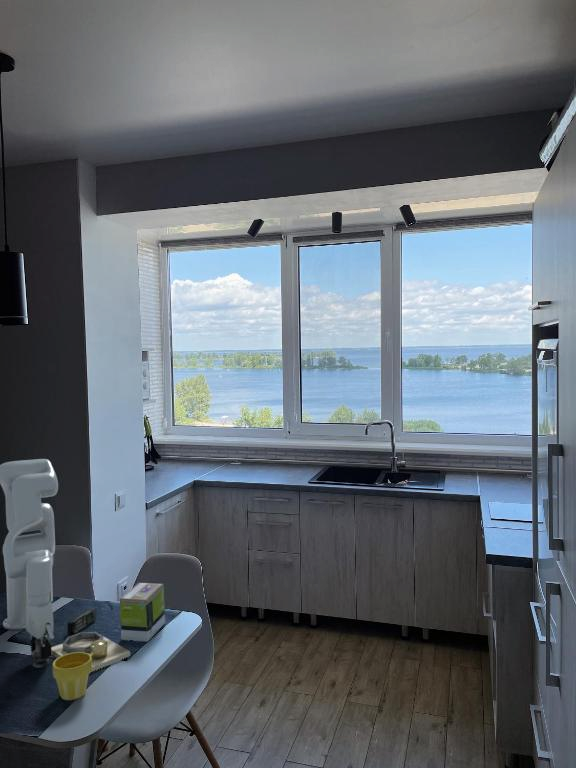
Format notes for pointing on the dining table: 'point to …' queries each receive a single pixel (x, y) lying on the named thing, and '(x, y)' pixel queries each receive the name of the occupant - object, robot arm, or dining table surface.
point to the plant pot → (72, 674)
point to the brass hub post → (99, 649)
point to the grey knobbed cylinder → (39, 655)
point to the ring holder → (78, 637)
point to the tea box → (142, 611)
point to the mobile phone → (81, 621)
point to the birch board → (113, 651)
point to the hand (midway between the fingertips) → (41, 653)
